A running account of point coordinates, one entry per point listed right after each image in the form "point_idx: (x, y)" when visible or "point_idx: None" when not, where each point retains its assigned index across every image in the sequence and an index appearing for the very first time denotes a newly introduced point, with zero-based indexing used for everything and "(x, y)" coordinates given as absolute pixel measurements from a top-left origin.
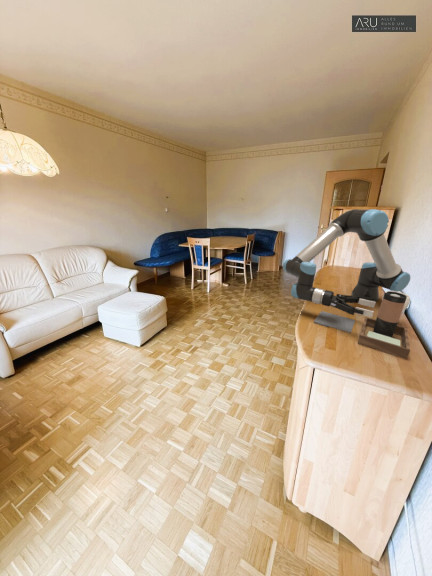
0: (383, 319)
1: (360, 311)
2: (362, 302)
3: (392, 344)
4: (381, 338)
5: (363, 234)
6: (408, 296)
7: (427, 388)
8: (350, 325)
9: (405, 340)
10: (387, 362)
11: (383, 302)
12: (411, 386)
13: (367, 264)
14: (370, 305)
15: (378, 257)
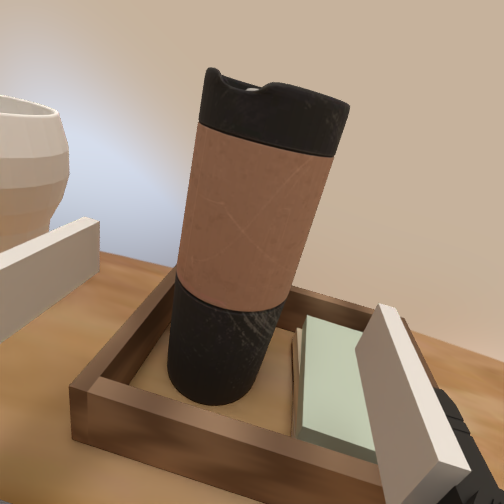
0: (283, 296)
1: (458, 426)
2: (1, 309)
3: (419, 357)
4: (358, 382)
5: None
6: (18, 103)
7: (495, 359)
8: None
9: (320, 301)
10: (473, 423)
11: (290, 187)
12: None
13: None
14: (75, 274)
15: None
